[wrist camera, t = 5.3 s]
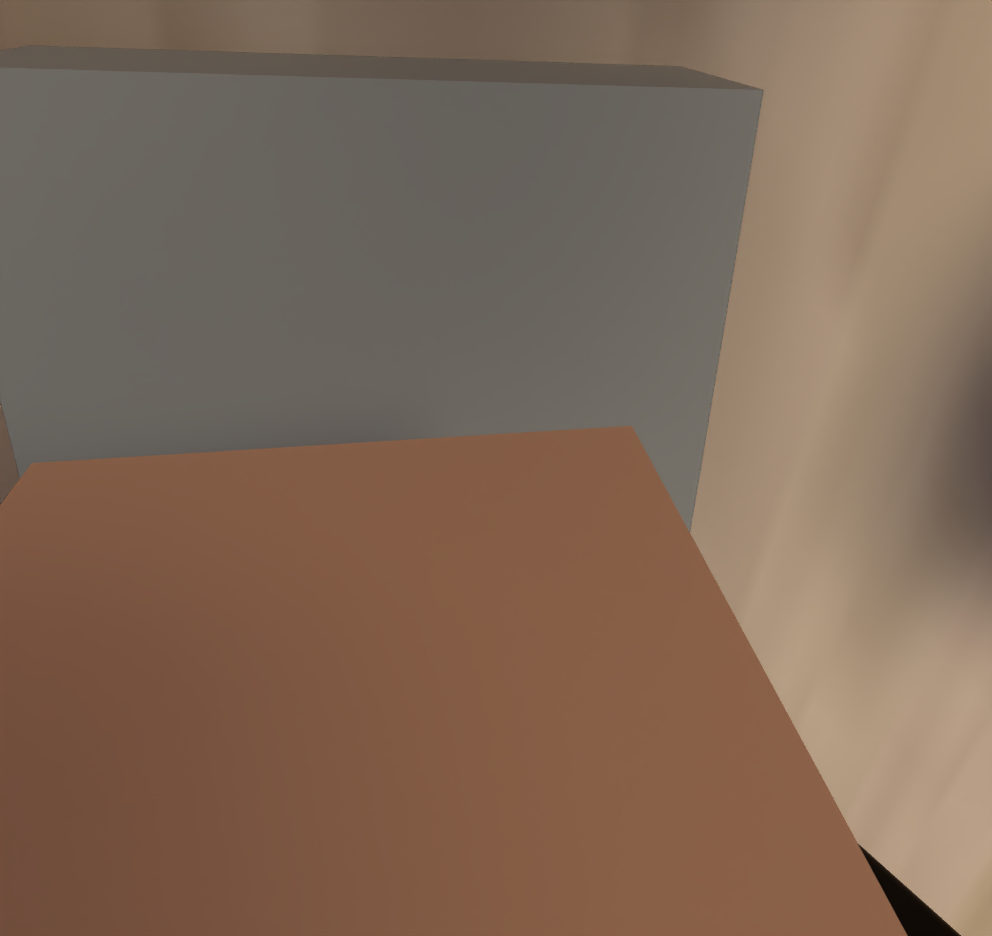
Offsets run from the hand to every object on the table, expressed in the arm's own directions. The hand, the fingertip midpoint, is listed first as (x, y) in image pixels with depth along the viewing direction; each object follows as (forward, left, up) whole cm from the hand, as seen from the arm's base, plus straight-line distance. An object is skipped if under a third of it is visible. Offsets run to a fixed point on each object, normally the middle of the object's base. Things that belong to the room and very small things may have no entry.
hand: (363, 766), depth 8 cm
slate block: (0, 0, -10) cm, 10 cm away
